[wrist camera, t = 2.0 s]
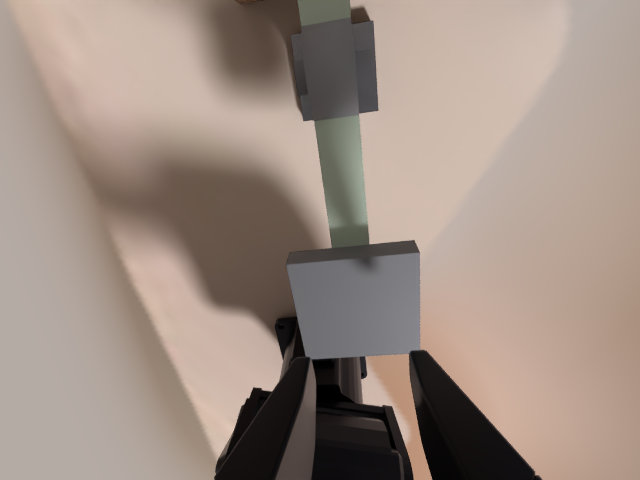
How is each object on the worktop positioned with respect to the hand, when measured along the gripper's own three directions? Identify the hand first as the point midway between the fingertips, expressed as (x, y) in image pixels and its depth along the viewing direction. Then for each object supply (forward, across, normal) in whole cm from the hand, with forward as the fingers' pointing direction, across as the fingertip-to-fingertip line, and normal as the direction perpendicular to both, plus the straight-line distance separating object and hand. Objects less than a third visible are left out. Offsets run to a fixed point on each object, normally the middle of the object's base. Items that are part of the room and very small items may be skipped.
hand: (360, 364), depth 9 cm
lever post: (+13, 0, -7) cm, 15 cm away
